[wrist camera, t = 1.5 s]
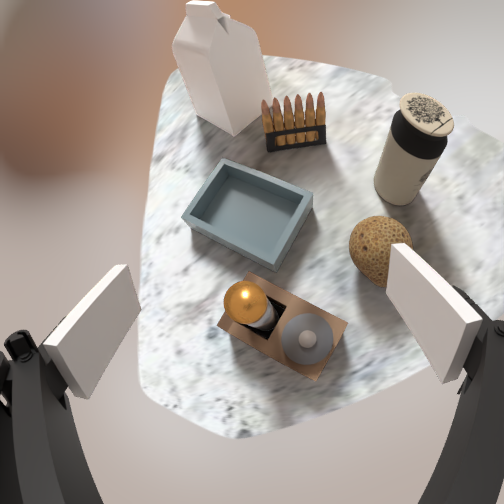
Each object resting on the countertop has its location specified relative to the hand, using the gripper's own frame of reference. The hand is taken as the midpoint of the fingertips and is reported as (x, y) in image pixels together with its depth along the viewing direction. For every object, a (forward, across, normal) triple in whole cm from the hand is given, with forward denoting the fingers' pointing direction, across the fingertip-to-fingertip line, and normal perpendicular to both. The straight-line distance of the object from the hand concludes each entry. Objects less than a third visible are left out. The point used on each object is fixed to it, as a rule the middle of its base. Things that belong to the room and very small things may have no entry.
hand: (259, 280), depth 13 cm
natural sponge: (+25, +16, -12) cm, 32 cm away
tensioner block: (+20, +2, -19) cm, 28 cm away
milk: (+50, -4, +14) cm, 52 cm away
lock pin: (+22, -1, -18) cm, 28 cm away
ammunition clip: (+41, +7, +5) cm, 42 cm away
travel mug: (+33, +22, -2) cm, 40 cm away
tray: (+32, -2, -6) cm, 33 cm away
